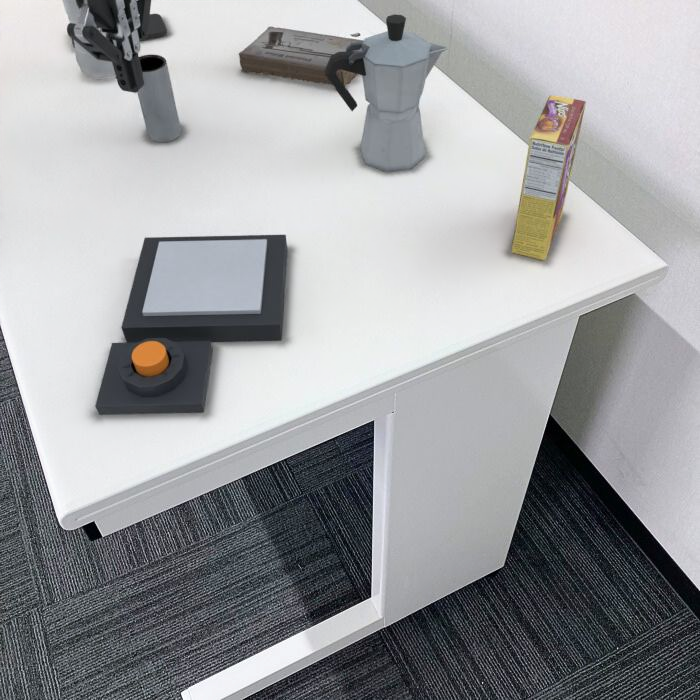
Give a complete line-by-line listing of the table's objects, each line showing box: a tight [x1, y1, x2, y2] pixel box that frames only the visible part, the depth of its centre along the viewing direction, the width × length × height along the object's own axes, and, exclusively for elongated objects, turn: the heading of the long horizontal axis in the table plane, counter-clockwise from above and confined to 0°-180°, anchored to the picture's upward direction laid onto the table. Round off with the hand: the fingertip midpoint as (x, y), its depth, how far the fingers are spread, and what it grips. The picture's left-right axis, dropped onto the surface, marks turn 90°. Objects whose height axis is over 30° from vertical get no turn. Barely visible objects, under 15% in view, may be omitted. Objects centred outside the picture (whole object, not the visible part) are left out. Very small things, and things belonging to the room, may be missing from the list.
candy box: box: [511, 94, 587, 261], centre depth 81 cm, size 9×4×15 cm, turn 157°
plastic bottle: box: [61, 0, 116, 80], centre depth 106 cm, size 6×7×20 cm
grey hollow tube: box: [136, 54, 182, 143], centre depth 98 cm, size 4×4×10 cm
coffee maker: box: [324, 13, 448, 173], centre depth 91 cm, size 15×9×18 cm, turn 100°
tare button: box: [132, 341, 169, 377], centre depth 70 cm, size 3×3×2 cm
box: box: [238, 26, 364, 87], centre depth 112 cm, size 11×17×3 cm, turn 67°
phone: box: [70, 13, 168, 49], centre depth 121 cm, size 7×1×15 cm
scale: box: [121, 234, 288, 343], centre depth 80 cm, size 16×14×3 cm
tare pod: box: [95, 338, 214, 415], centre depth 72 cm, size 10×8×3 cm
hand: (133, 88), depth 80 cm, fingers closed
